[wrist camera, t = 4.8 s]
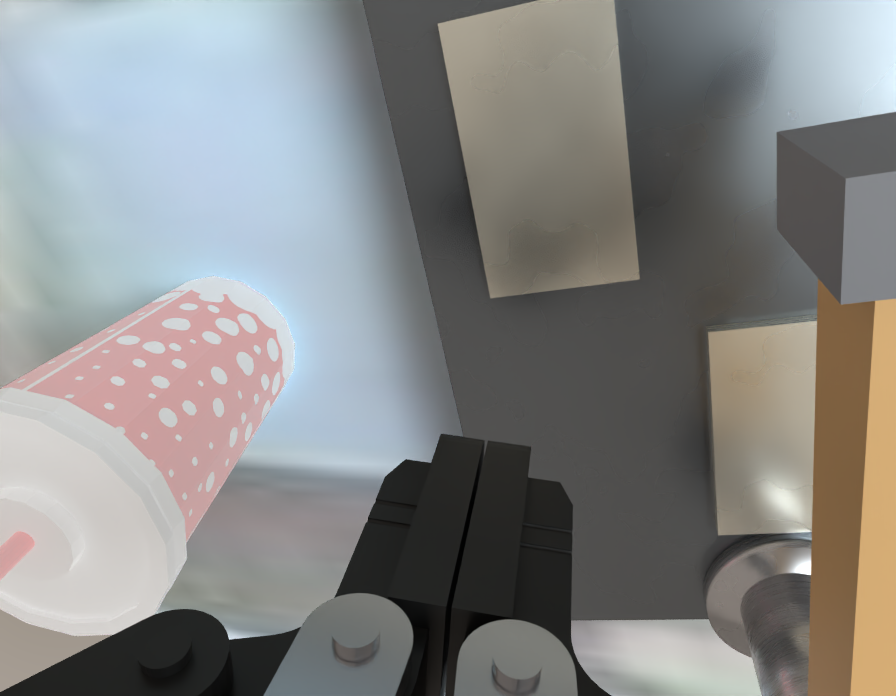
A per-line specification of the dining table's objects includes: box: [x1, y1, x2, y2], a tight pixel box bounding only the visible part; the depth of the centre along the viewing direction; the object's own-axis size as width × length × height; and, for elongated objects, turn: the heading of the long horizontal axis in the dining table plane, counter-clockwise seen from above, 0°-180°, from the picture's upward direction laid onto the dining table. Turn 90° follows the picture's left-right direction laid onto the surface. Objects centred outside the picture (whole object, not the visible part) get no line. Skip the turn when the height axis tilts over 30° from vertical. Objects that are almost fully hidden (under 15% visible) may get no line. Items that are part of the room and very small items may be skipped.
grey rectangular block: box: [363, 0, 896, 696], centre depth 15 cm, size 19×10×9 cm, turn 12°
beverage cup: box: [0, 276, 295, 636], centre depth 16 cm, size 6×6×14 cm
